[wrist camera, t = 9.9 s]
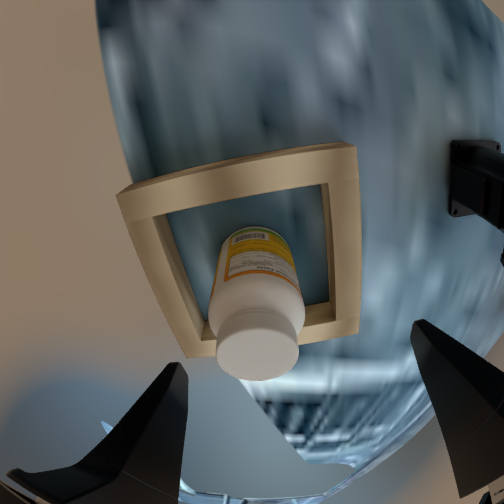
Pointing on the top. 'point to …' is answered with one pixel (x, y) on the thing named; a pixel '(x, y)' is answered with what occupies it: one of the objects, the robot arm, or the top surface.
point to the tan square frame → (241, 185)
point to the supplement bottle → (256, 305)
